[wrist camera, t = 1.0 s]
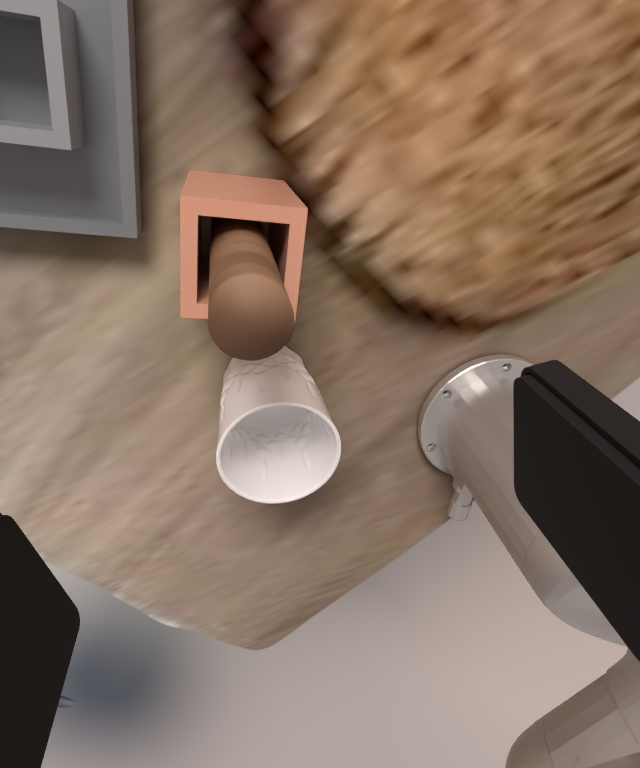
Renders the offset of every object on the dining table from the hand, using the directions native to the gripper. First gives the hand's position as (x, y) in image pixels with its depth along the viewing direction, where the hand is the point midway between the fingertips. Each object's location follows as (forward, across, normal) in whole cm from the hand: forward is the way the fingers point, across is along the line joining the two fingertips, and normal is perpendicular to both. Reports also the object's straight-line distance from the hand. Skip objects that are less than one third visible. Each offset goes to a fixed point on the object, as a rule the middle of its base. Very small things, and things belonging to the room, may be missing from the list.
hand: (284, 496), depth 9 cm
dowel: (+27, 0, 0) cm, 27 cm away
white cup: (+28, +2, +13) cm, 31 cm away
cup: (+28, 0, 0) cm, 28 cm away
